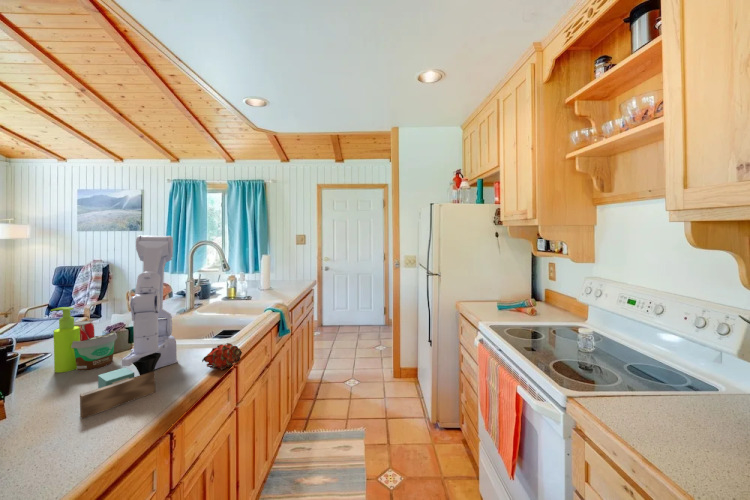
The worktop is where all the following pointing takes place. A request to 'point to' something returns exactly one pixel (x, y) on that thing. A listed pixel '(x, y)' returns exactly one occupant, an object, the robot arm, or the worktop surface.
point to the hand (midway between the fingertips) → (146, 379)
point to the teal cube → (114, 377)
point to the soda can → (85, 329)
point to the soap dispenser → (65, 342)
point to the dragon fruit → (223, 356)
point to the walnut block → (116, 394)
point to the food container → (94, 352)
